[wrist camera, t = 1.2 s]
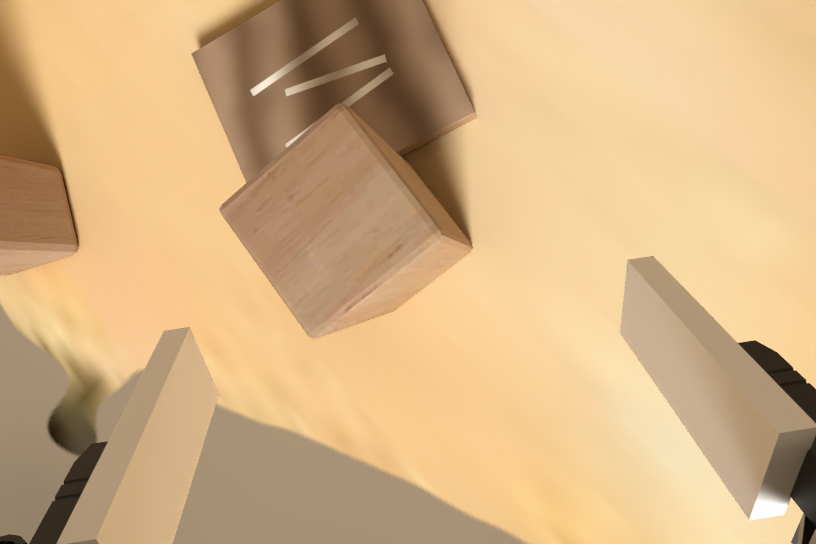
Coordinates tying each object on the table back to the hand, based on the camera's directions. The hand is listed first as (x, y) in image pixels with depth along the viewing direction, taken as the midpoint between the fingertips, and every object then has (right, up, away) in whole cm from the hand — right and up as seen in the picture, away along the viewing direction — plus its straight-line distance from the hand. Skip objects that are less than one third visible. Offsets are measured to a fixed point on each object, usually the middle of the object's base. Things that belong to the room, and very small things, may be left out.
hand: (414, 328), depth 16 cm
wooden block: (-1, +5, +34) cm, 34 cm away
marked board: (-7, +19, +35) cm, 41 cm away
